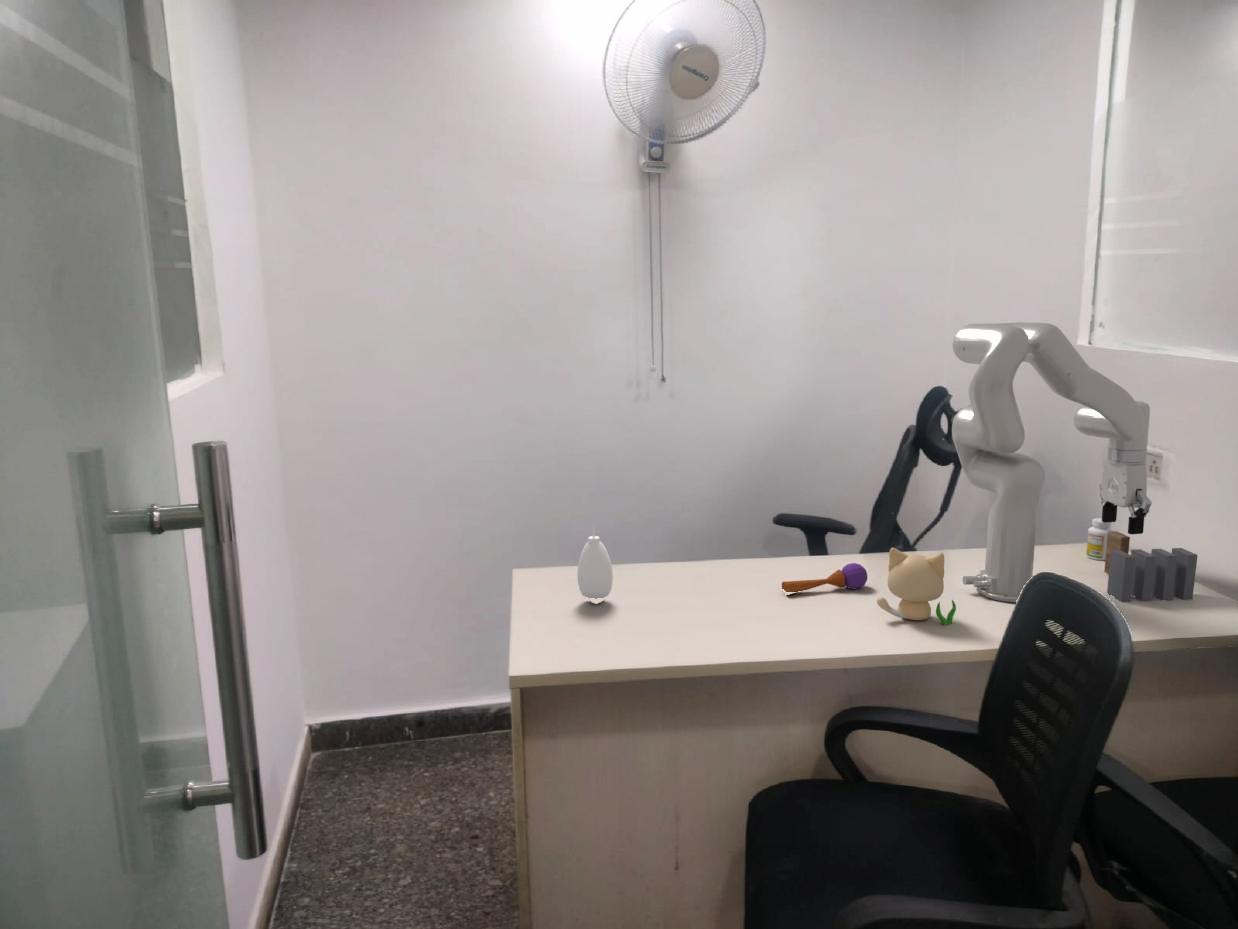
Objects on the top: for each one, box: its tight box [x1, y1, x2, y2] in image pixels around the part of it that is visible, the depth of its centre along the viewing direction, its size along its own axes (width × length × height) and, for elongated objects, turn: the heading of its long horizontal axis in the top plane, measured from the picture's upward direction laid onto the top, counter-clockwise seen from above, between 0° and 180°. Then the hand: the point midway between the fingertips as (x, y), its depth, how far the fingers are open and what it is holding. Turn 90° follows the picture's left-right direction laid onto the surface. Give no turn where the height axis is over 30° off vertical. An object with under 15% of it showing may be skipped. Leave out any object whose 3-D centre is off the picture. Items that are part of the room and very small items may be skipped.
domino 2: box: [1106, 550, 1135, 603], centre depth 177 cm, size 2×5×10 cm, turn 1°
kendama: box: [781, 562, 868, 592], centre depth 187 cm, size 6×6×20 cm
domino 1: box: [1103, 530, 1131, 575], centre depth 191 cm, size 2×5×10 cm, turn 1°
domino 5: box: [1171, 547, 1198, 601], centre depth 177 cm, size 2×5×10 cm, turn 1°
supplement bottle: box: [1086, 517, 1114, 562], centre depth 204 cm, size 5×5×10 cm
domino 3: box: [1130, 549, 1156, 602], centre depth 177 cm, size 2×5×10 cm, turn 1°
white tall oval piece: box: [577, 525, 614, 599], centre depth 182 cm, size 8×8×18 cm
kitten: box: [876, 547, 957, 626], centre depth 169 cm, size 15×10×15 cm
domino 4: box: [1150, 548, 1177, 601], centre depth 177 cm, size 2×5×10 cm, turn 1°
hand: (1121, 527), depth 190 cm, fingers open, 9 cm apart
